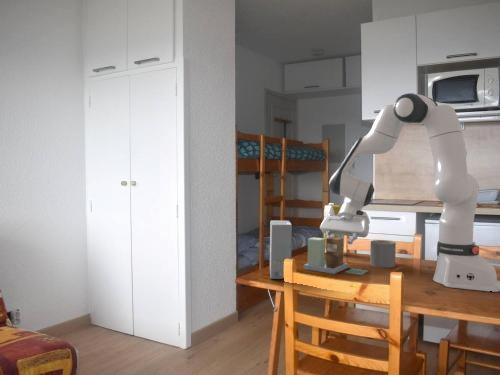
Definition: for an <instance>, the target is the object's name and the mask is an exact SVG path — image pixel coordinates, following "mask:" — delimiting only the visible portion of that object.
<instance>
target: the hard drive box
mask: <svg viewBox="0 0 500 375" xmlns="http://www.w3.org/2000/svg"><path fill="white" fill-rule="evenodd" d="M269 224H270V227H269V228H270V229H269V230H270V232H269V233H270V235H269V238H270V239H269V274H270V275H269V276H270V279H271V280H272V279H273V280H274V279H276V280H280V279H281V280H284V279H283V261H284V259H286V258H291V259H292V245H293V244H292V242H293V241H292V238H293V235H292V234H293V231H292V230H293V229H292V228H293V225H292V223H291V222H290V220H270V223H269Z"/></svg>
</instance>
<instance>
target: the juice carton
mask: <svg viewBox="0 0 500 375" xmlns="http://www.w3.org/2000/svg"><path fill="white" fill-rule="evenodd" d="M341 206H342V205H337V204H335V203H334V202H330V203H328V204H327V205H324V210H323V219H324V218H325V216H327V215H329V214H332V215H338V213H339V211H340V208H341ZM329 236H330V237H338V238H343V252H344V249H345V245H344V244H345V235H336V234H331V235H329ZM323 238H325V254H326V238H327V234H326V233H323Z"/></svg>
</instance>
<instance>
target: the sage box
mask: <svg viewBox="0 0 500 375" xmlns="http://www.w3.org/2000/svg"><path fill="white" fill-rule="evenodd" d="M325 254H326V253H325V238H324V237H315V236H314V237H310V238H307V263H308V265H311V266H318V267H325V260H326V255H325Z"/></svg>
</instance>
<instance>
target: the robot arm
mask: <svg viewBox="0 0 500 375" xmlns="http://www.w3.org/2000/svg"><path fill="white" fill-rule="evenodd" d="M407 125H414V126H425V128H426V130H427V133H428V139H429V140H428V141H429V144H430V150H431V154H432V160H433V178H434V184H433V188H432V189H433V194H434V196H435V198H436V199H437V200H438V201H440V202H441V203H443V206H442V212H441V214H440V215H441V216H440V217H439V221H438V224H439V225H438V240H437V244H436V256H437V262H436V268H435V272H434V275H433V278H432V280H433V281H434V282H436V283H437V284H441V285H443V286H444V287H446V288H452V289H453V288H455V289H464V290H471V291H473V290H474V291H481V292H482V291H484V292H490V291H492V293H496V292H500V280H498V275H497V272H496V268H495V267H494V266H493V265H492V264H491V263H489V262H488V261H487V260H485V259H484V257H482V256H480V255H479V254H480V245H477V244H475V243H474V221H475V214H476V209H477V202H478V196H479V195H478V194H479V190H480V184H479V182H478V180H477V179H476V178H475V176H474V175H471V174H469V173H468V168H467V156H468V153H467V152H468V151H467V148H466V143H465V138H464V133H463V129H462V127H461V123H460V120H459V117H458V115H457V113H456V110H455V109H454V107H453V106H451V105H447V104H438V103H437V101H435V100H434V98H431V97H428V96H425V95H422V94H418V93H417V94H416V93H413V92H409V93H404V94H402V95H400V96H398V97H397V98H396V100H395V101H394V103H393V104H387V105H384V106H383V107H382V108H381V110H380V111H379V113H378V114H377V116H376V118H375V119H374V122H373V124H372V126H371V128H370V130H369V131H368V133H367V134H365V136H362V137H361V136H360V137H359V138H358V139H357V140H356V141H355V142H354V143H353V145H352V147H350V149H349V151H348V153H347V154H346V155H345V157H344V159H343V160H342V162H341V164H340V165H339V167H338V168H337V170H336V171H335V172H334V173H333V174H332V175H331V177H330V179H329V182H328V187H329V188H328V189H329V190H330V192H331V193H332V194H335V195H336V196H337V195H338V196H341V197H344V198H343V203H342V205H340V206H341V208H340V211H339V213H338V215H332V214H329V215H327V216H325V218H324V217H323V220H322V222H321V224H320V226H319V229H320V231H321V232H322V234H324V233H326V234H327V238H330V236H329V235H331V234H336V235H344V237H345V236H347V237H348V239H347V244H348V245H353V244H354V242H355V241H356V240H357V239H358V238H367V236H368V234H369V231H370V217H369V215H368V213H367V212H366V211H363V210H362V209H363V208H364V207H366V206H368V205H369V204H370V203H371V201H372V199H373V198H372V197H373V195H374V193H375V187H374V185H373V183H372V182H371V181H368V180H366V179H363V178H360V177H357V176H355V175H353V174H350V173H349V170H350V169H351V167H352V165H353V164H354V162H355V161H356V159H357V158H358V157H359V156H363V155H380V154H381V155H382V154H386V153H388V152H390V151H391V150H392V149H394V147H395V145H396V144H397V142H398V139H399V137H400V135H401V132H402V131H403V128H404V127H405V126H407ZM349 237H350V238H349Z"/></svg>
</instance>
